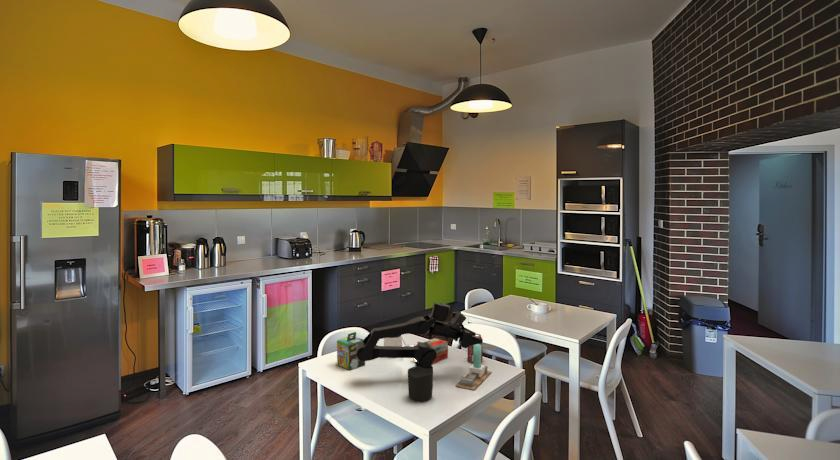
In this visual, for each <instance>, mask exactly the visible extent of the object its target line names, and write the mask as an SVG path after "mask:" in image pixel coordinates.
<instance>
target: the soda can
mask: <svg viewBox="0 0 840 460" xmlns="http://www.w3.org/2000/svg"><path fill="white" fill-rule="evenodd" d="M475 337H477V338H480V339H482V340H483V337H482V334H479V333H476V336H475ZM479 344H480V345H481V362H482V361H483V347H484V346H483V345H484V344H483V342H482V343H479ZM473 348H474V345H472V346H469V347H467V348H466V349H467V351H466V352H467V353H466V354H467V355H466V356H467V358H466V359H467V361H468V362H469V363H472V364H473Z"/></svg>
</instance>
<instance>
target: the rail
mask: <svg viewBox="0 0 840 460" xmlns="http://www.w3.org/2000/svg"><path fill="white" fill-rule="evenodd" d="M483 365H484V366H485V373H484V374H483V375H482V376H481V377H479V374H478V373H472V374H471V375H470V372H469V371H468V373H467V374H466V375H465V376H461V377H460V379H459V381H458V382H457V383H456V384H455V385H454V386H455V387H456V388H461V389H465V390H469V391H476V390H477V389H478V388H480V386H481V385H482V384H483V383H484V382H485V380H487V378H488V377H489V376H490V375H491V374H492V373H493V372H492V371H491V370H488V365H485V364H483Z"/></svg>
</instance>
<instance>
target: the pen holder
mask: <svg viewBox="0 0 840 460" xmlns="http://www.w3.org/2000/svg"><path fill="white" fill-rule="evenodd" d="M433 381H434V368H433V369H431V368H429V369H424V368H421V367H415V366H412V367H410V368H408V369H407V386H408V398H409V399H410V400H411V401H412V402H416V403H424V402H428V401H430V400H431V399H432V398H433V389H434V388H433V387H434V386H433V385H434V382H433Z"/></svg>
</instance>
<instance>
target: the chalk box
mask: <svg viewBox="0 0 840 460" xmlns="http://www.w3.org/2000/svg"><path fill="white" fill-rule="evenodd" d="M363 340H364V339H363V338H361V337H357V331H355V332H351V333H348V334H347V337H343V338H340V339H338V340H336V354H337V355H336V357H337V359H336V360H337V361H336V362H337V363H336V365H337V366H338V365H339V367H341V368H343V369H345V368H346V370H348V371H351V370H354V369H356V368H357V369H358V368H360V367H364V366H365V365H366V361H360V360H359V359H358V358H357V354H356V347H357V345H358V344H359V343H360V342H362V341H363ZM363 365H364V366H363Z"/></svg>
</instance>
